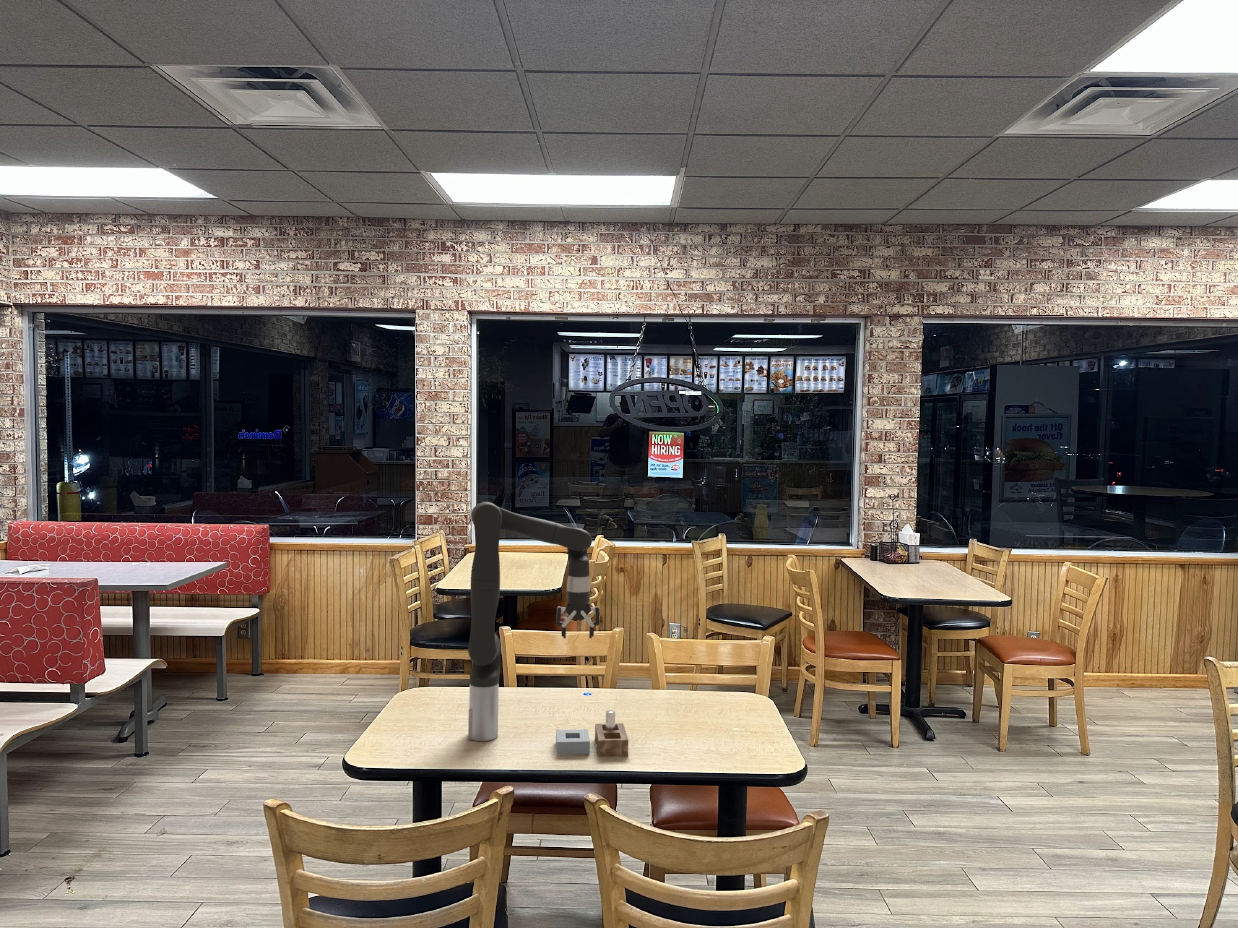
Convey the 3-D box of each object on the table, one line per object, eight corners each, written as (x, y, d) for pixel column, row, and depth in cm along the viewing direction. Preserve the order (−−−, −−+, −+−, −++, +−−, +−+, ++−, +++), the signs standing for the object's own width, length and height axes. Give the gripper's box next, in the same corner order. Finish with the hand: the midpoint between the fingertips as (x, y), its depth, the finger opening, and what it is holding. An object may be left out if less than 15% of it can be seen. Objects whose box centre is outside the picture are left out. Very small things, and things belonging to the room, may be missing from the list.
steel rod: (605, 744, 246) (606, 713, 246) (604, 741, 249) (605, 710, 249) (615, 744, 247) (615, 713, 246) (614, 741, 250) (614, 709, 249)
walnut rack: (598, 756, 237) (598, 740, 237) (594, 739, 251) (595, 723, 251) (628, 755, 238) (628, 739, 238) (622, 738, 252) (623, 722, 252)
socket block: (556, 754, 238) (557, 741, 238) (555, 742, 248) (556, 729, 247) (589, 754, 239) (589, 741, 239) (587, 741, 249) (587, 729, 249)
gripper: (557, 591, 254) (556, 641, 255) (600, 591, 256) (600, 640, 256) (556, 587, 262) (555, 635, 262) (599, 587, 263) (598, 634, 264)
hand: (577, 637), depth 259 cm, fingers open, 8 cm apart
